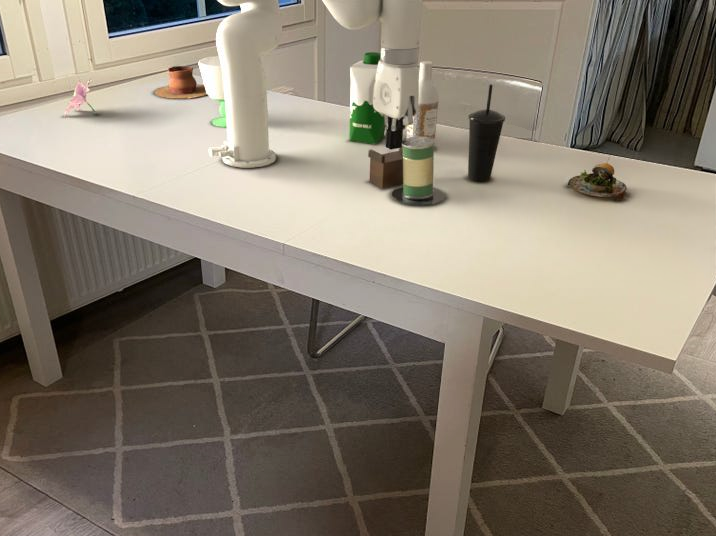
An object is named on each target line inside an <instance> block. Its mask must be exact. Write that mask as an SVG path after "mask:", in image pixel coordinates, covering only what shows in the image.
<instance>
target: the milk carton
mask: <svg viewBox="0 0 716 536" xmlns="http://www.w3.org/2000/svg"><path fill="white" fill-rule="evenodd" d="M379 61H380V52H373V51H372V52H365V53H364V59H363V60H359V61H357V62H355V63H353V64H352V65H351V66H350V67H349V71H350V92H349V93H350V94H349V96H350V97H349V101H350V103H349V142H354V143H355V142H356V143H362V144H363V143H364V144H372V145H377V143H379V142H380V141H381V140H382V139H383V138H384V137H385V135H386V128H385V120H384V117H383V116H382V115H380V114H379V112H378V111H376V110H375V109H374V107H373V95H374V85H375V77H376V71H377V66H378V62H379Z"/></svg>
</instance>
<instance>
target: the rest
mask: <svg viewBox="0 0 716 536" xmlns="http://www.w3.org/2000/svg"><path fill="white" fill-rule="evenodd" d="M368 158H369V178H368V179H369V180H368V182H369V183H370V184H372V185H374V186H376V187H378V188H379V189H382V190H385V189H389V188H393V187H398V186H401V185H402V186H403V146H402V147H401V148H398V150H395V151H390V152H386V153H380V152H377V151H375V150H374V149H368Z"/></svg>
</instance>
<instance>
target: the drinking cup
mask: <svg viewBox="0 0 716 536" xmlns="http://www.w3.org/2000/svg"><path fill="white" fill-rule="evenodd" d="M493 87H494V85H493V84H489V85H488V93H487V101H486V108H485V109H479V110H476V111H474V112H470V113H469V114H468V116H467V117H468V120H469V127H468V130H469V131H468V158H467V160H468V161H467V179H468V180H469V182H472V183H477V184H478V183H479V184H483V183H488V182H489V181H490V180H491V176H492V172H493V169H494V164H495V159H496V155H497V151H498V147H499V143H500V138H501V134H502V129H503V126H504V125H503V124H504V122H505V121H506V116H505V115H504V114H503V113H500V112H498V111H497V110H493V109H491V101H492V94H493V93H492V92H493Z"/></svg>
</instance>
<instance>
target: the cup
mask: <svg viewBox="0 0 716 536" xmlns="http://www.w3.org/2000/svg"><path fill="white" fill-rule="evenodd" d="M198 66H199V70H200V74H201V77H202V81H203V85H205V88H206V92H207V94H206V95H208V96H209V97H210V98H211V99H212V100H214V101H217V102H220V103H221V104H220V106H219V113H220V115H221V116H222V117H218V118H215V119H213V120H212V124H213V126H216V127H221V128H227V121H226V107H225V94H224V83H223V73H222V67H221V62H220V57H219V55H213V56H209V57H204V58H201V59H199V61H198Z"/></svg>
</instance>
